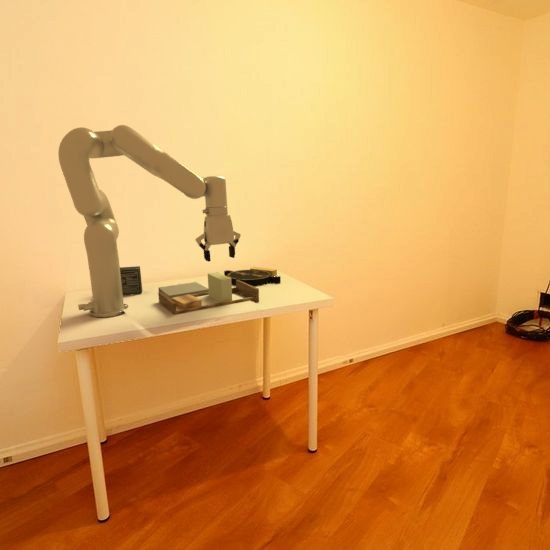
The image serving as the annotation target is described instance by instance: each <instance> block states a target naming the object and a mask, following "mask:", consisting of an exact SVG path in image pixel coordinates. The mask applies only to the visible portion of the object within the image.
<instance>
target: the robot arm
mask: <svg viewBox="0 0 550 550" xmlns="http://www.w3.org/2000/svg"><path fill="white" fill-rule="evenodd" d="M121 156H124V157H126V158H127V159H129V160H130V161H132V162H134V163H135V164H136V165H138V166H140V167H141V168H142V169H144V170H145V171H147V172H148V173H150V174H151V175H153V176H154V177H156V178H159V179H161V180H163V181H164V182H165V183H167V184H169V185H170V186H172V187H174V188H175V189H176V190H178V191H179V192H180V193H182V194H184V196H186V197H187V198H189V199H193V200H196V199H197V200H198V199H201V198H202V197H204V198H205V199H204V200H205V208H204V209H202V214H204V215H206V216H204V221H203V233H202V234H200V235H199V236H198V237H196V238H195V240H194V241H195V242H196V244H197V245H198V247H200V248H201V250H202V251H203V259H204V260H205V261H206V262H211V251H210V250H209V249H210V247H211V246H215V245H224V244H228V245H229V246H228V256H229V257H230V258H233V259H234V258H236V257H235V255H236V246H237V244H238V243H239V242H240V238H241V235H242V234H240V233H238V232H237V231H234V227H233V222H232V217H231V215H230V214H229V213H228V197H227V183H226V177H224V176H222V175H213V176H212V175H209V176H206V177H204V176H199V175H198V174H196V173H194V172H193V170H191V169H189V168H188V167H186V166H185V165H183V164H182V163H181V162H179V161H178V160H177V159H175V158H173V157H172V156H171V155H170V154H169V153H167V152H166V151H164V150H163V149H162V148H160V147H158V146H157V145H156V144H154V142H152V141H150V140H149V139H147V138H146V137H145V136H143V135H142V134H141V133H139V132H137V130H134V128H132V127H130V126H128V125H125V124H120V125H117V126H115V127H114V128H113V129H112V130H103V131H102V130H101V131H93V130H92V129H90V128H86V127H82V126H81V127H76V128H73V129H71V130H70V131H69V132H67V133H66V134H65V135H64V136H63V138H62V139H61V141H60V143H59V147H58V162H59V165H60V169H61V171H62V175H63V178H64V180H65V183H66V186H67V188H68V191H69V194H70V197H71V199H72V203H73V206H74V208H75V210H76V211H77V213H78V214H79V215H81V216H83V218H84V221H85V223H86V225H87V226H86V227H85V229H84V232H83V241H84V246H85V251H86V256H87V264H88V270H89V278H90V285H91V286H90V287H91V294H92V298H91V299H90V301H88V303H80V304H77V305H78V306H77V307H78V310H79V311H82V310H83V312H86V311H89V315H90V316H91V317H95V318H109V317H110V318H111V317H114V316H115V317H116V316H119V315H123V314H125V313H126V311H125V310H127V309H128V308H129V305H128V304H126V303H125V302H124V297H123V296H124V295H123V293H122V284H121V274H120V267H121V266H120V259H119V252H118V244H117V242H118V241H117V240H118V237H119V234H120V233H119V232H120V230H119V226H118V224H117V220H116V217H115V215H114V212H113V209H112V206H111V203H110V201H109V199H108V196H107V195H106V194H105V192H104V191H102V189H99V186H98V183H97V180H96V177H95V175H94V172H93V169H92V166H91V162H90V159H102V158H103V159H104V158H111V157H121ZM203 240H204V243H203V242H202V241H203Z"/></svg>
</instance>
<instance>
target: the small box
mask: <svg viewBox="0 0 550 550" xmlns="http://www.w3.org/2000/svg"><path fill="white" fill-rule="evenodd" d="M120 274H121V284H122V293H123V296H128V295H129V296H132V295H131V294H133V295H141V294H142V292H143V284H142V273H141V266H139V265H136V266H124V267H121V266H120Z"/></svg>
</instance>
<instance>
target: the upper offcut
mask: <svg viewBox="0 0 550 550" xmlns="http://www.w3.org/2000/svg"><path fill="white" fill-rule="evenodd" d="M172 300H173V301H174V302H175V303H176V306H178V307H180V308H182V309H187V308H191V307H196V306H200V305H202V298H201V299H200V298H198V297H194V296H192V295H190V294H188V295H183V296H179V297H174V298H172ZM202 306H203V305H202Z"/></svg>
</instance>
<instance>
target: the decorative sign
mask: <svg viewBox="0 0 550 550" xmlns="http://www.w3.org/2000/svg"><path fill="white" fill-rule="evenodd" d="M277 273H278V271H277V268H270V267H269V268H268V267H258V266H253V267H250V268H249V269H239V270H227V269H226V270H223V275H225V276H227V277H229V278H231V282H232V284H233V285H232V286H236V280H240V281H242V282H245V283H247V284H249V285H251V286H254V287H258V285H260V286H264V284H265V285H268V284H276V283H277V284H281V282H282V281H281V276H280V275H277ZM276 275H277V276H276ZM274 276H275V277H274ZM267 283H268V284H267Z"/></svg>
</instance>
